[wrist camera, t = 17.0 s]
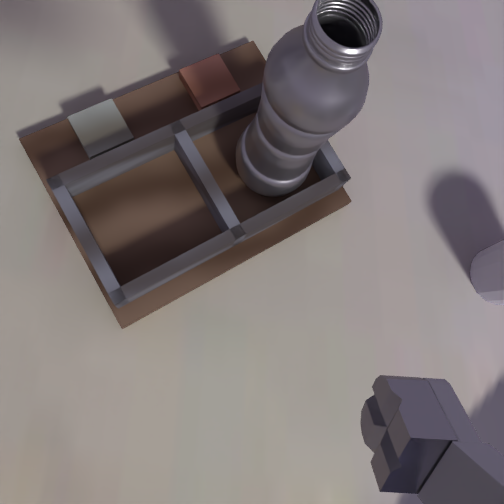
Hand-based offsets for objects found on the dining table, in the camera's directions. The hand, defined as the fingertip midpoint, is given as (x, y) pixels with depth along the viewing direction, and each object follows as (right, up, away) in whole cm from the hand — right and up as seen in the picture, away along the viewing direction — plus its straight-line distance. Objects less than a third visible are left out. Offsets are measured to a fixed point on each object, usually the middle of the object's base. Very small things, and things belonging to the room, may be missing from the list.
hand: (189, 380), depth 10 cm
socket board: (-4, +10, +32) cm, 34 cm away
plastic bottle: (+3, +10, +33) cm, 34 cm away
